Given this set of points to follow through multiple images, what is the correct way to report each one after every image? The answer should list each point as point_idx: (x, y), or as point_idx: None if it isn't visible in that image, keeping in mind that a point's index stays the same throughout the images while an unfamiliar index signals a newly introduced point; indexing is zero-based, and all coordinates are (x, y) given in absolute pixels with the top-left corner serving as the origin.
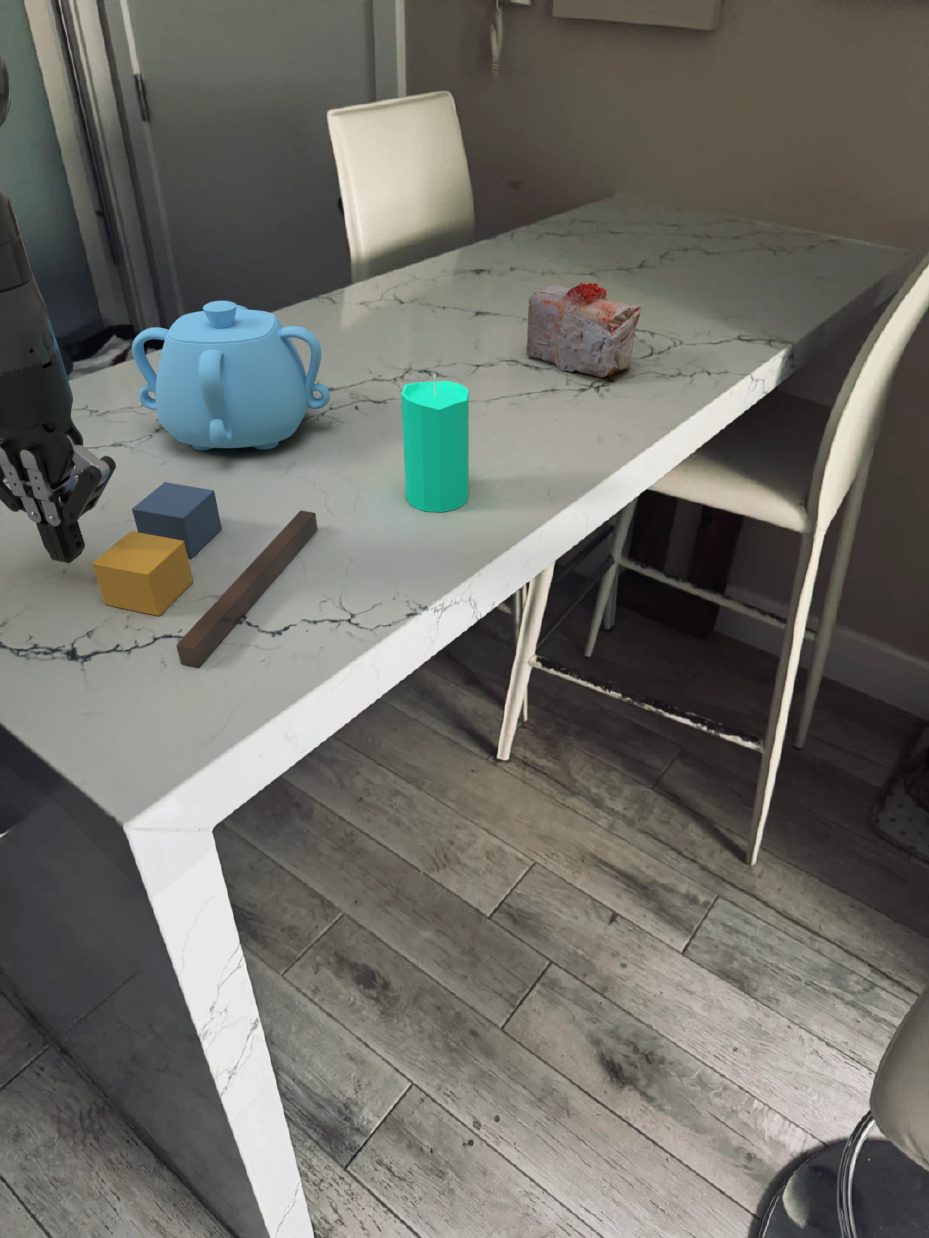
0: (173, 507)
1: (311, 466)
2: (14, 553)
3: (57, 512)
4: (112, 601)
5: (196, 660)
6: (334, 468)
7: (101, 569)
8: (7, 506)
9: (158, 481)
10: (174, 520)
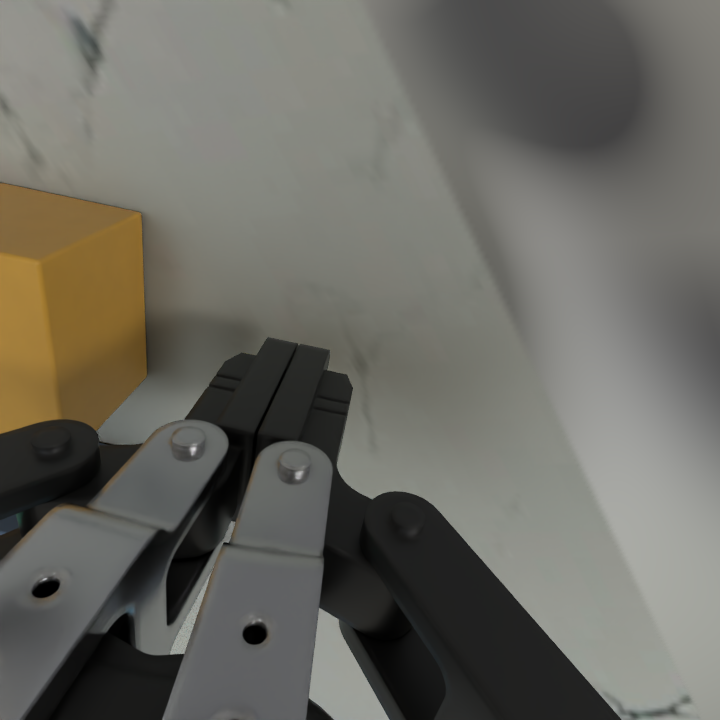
0: None
1: None
2: (554, 436)
3: (127, 468)
4: (97, 209)
5: None
6: None
7: (16, 246)
8: (443, 519)
9: (327, 681)
10: (13, 522)
